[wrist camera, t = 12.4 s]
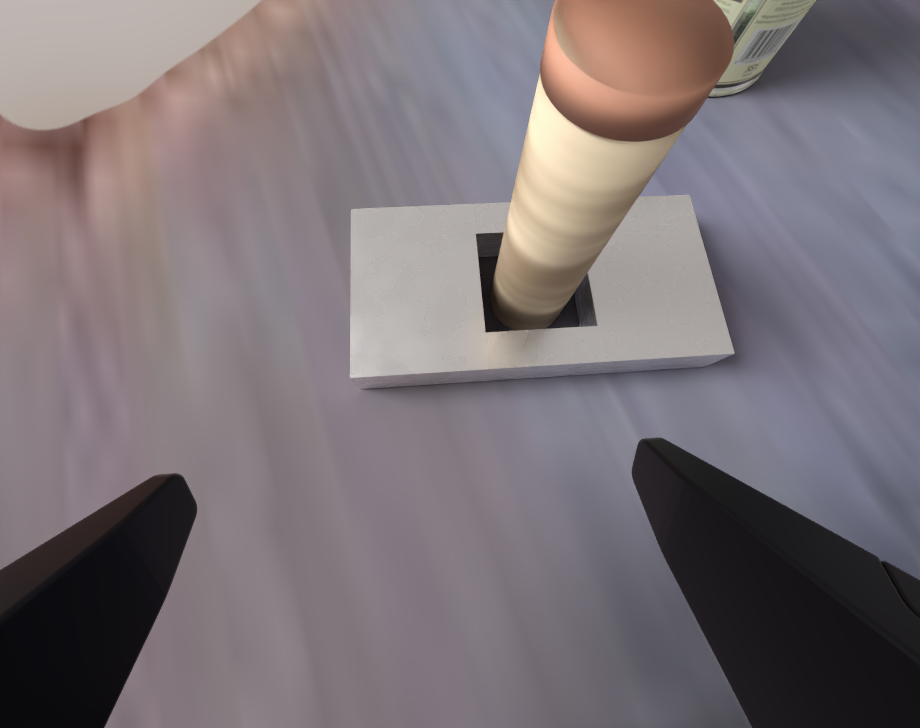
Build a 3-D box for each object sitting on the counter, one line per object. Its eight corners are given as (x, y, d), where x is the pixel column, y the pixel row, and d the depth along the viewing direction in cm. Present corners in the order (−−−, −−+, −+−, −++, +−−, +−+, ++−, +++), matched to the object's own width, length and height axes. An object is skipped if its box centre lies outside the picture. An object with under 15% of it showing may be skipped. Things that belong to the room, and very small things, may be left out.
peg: (545, 346, 23) (706, 125, 9) (476, 314, 24) (522, 55, 9) (573, 284, 24) (753, 2, 10) (507, 255, 25) (588, -54, 10)
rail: (705, 366, 23) (734, 353, 21) (360, 389, 22) (350, 377, 20) (667, 221, 26) (689, 194, 24) (360, 235, 25) (351, 208, 23)
